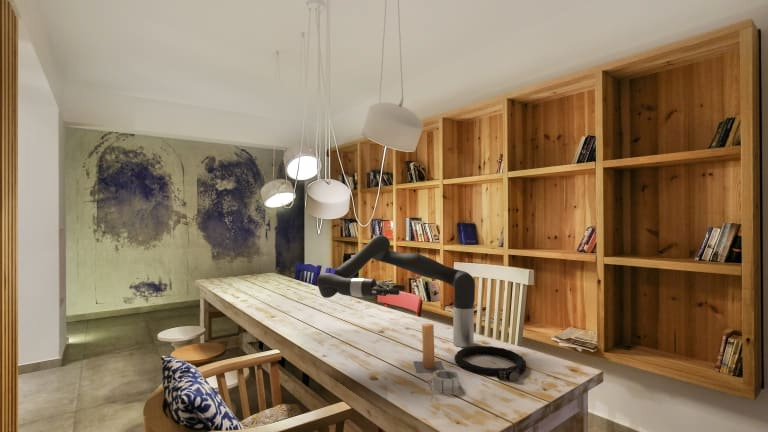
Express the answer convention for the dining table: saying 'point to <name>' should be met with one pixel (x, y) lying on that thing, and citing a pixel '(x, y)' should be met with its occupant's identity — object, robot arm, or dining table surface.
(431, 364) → the tube
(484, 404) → the dining table surface
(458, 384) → the collar stand
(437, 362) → the mat
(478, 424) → the dining table surface
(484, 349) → the cable lock
